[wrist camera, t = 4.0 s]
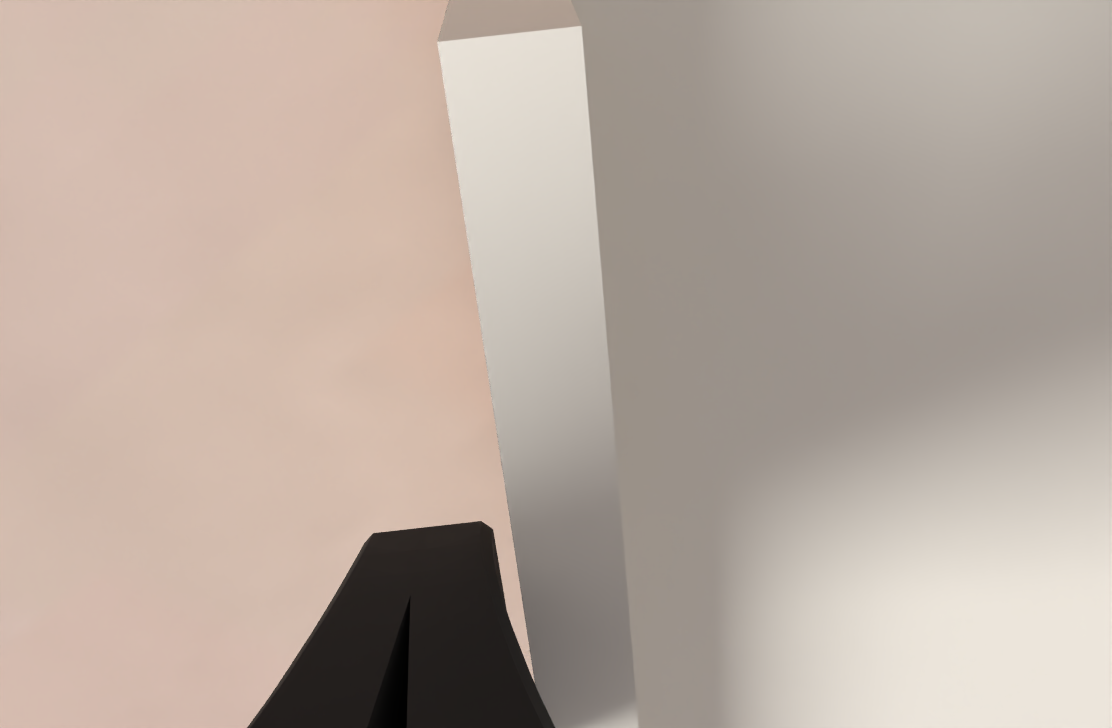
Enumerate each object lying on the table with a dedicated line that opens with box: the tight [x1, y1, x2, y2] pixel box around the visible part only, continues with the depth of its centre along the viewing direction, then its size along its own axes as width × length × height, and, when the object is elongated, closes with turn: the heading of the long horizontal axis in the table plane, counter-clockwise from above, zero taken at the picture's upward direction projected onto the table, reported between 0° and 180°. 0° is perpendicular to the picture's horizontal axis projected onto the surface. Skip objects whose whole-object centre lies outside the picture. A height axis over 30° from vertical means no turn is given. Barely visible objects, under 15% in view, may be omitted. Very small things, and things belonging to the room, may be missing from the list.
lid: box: [437, 0, 1112, 728], centre depth 11 cm, size 12×11×3 cm
